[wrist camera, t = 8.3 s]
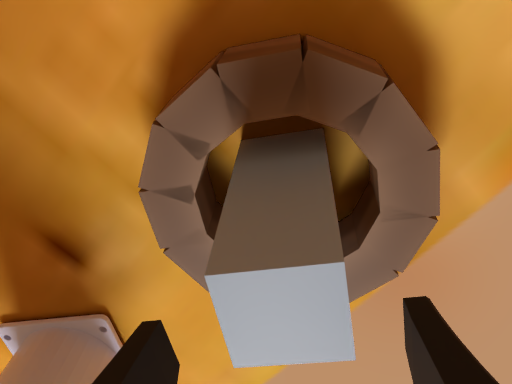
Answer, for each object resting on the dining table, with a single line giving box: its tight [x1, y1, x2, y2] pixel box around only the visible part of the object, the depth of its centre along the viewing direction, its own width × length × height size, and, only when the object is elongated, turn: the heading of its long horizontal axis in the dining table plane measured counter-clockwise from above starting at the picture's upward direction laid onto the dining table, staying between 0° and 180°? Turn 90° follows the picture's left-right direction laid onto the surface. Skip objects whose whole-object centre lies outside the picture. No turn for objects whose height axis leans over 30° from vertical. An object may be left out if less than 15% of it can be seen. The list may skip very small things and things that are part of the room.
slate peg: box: [204, 128, 356, 368], centre depth 17 cm, size 4×4×10 cm
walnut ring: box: [138, 34, 440, 303], centre depth 20 cm, size 13×13×3 cm
